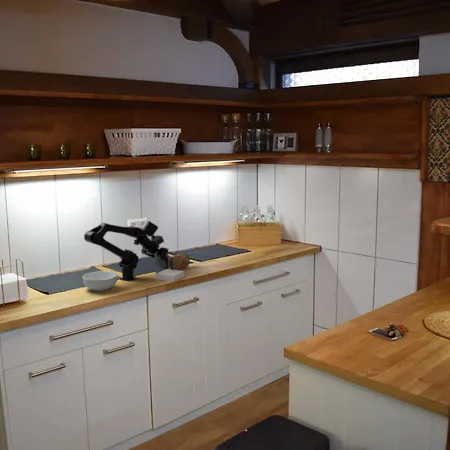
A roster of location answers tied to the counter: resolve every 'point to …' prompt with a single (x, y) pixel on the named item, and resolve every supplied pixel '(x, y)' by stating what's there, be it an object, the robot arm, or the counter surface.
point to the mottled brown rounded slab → (179, 262)
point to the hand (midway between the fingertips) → (163, 260)
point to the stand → (169, 275)
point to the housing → (161, 264)
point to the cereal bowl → (100, 280)
